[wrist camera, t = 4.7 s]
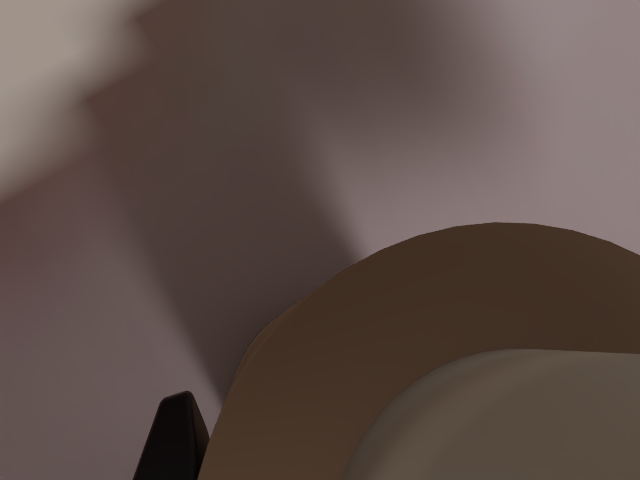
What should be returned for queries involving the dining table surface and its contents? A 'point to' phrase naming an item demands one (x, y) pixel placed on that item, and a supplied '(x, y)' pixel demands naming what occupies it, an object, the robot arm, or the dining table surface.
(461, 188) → the dining table surface
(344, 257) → the dining table surface
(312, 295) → the pepper mill
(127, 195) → the dining table surface
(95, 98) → the dining table surface
